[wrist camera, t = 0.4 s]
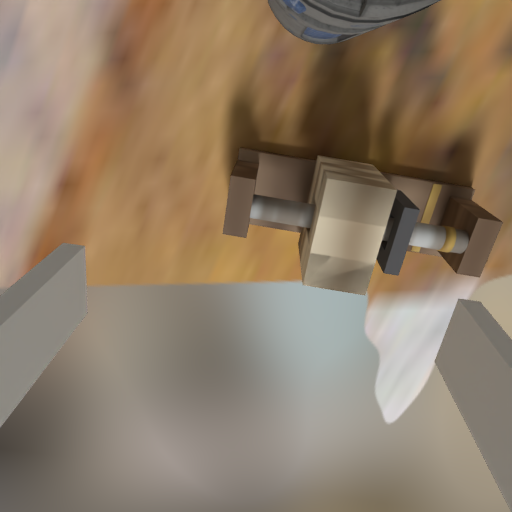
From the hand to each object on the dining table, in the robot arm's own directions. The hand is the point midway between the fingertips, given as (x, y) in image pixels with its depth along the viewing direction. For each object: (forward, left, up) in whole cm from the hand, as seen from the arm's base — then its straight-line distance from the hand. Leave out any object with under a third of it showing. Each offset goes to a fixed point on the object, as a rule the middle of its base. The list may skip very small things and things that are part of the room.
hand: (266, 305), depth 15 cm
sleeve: (+3, +6, -25) cm, 26 cm away
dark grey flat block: (+3, +11, -24) cm, 26 cm away
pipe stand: (+3, +8, -27) cm, 28 cm away
